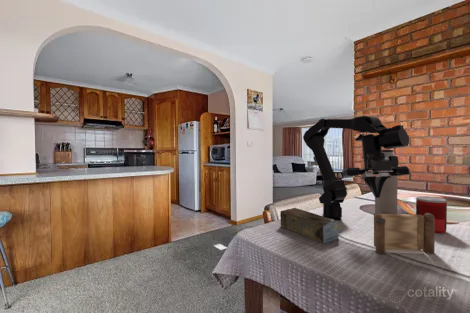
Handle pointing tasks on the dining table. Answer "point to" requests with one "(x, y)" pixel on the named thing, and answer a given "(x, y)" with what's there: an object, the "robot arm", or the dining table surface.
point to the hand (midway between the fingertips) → (377, 197)
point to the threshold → (403, 251)
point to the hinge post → (429, 233)
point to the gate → (402, 231)
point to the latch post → (380, 235)
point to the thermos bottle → (387, 193)
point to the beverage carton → (310, 225)
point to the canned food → (433, 211)
